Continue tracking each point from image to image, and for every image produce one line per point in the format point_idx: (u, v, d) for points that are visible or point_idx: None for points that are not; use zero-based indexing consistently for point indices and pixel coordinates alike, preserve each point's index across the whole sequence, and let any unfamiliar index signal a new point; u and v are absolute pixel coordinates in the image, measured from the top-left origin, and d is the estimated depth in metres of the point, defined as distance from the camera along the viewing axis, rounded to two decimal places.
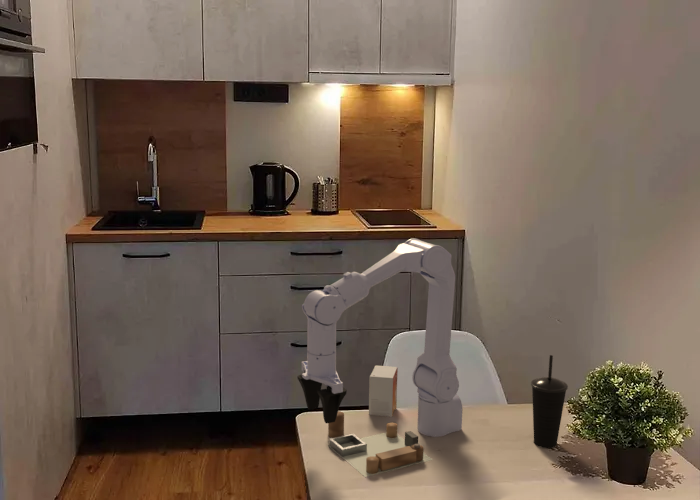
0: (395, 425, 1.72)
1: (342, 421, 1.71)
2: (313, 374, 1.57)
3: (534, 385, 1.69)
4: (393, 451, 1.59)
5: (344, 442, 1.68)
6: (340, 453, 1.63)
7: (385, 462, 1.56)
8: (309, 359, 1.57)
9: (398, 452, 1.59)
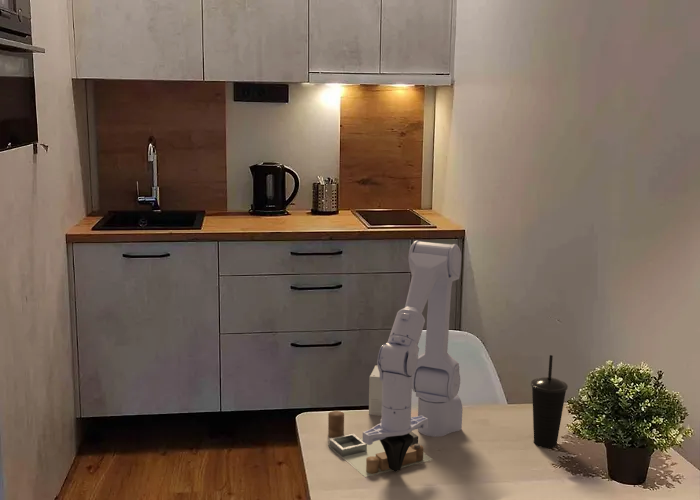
0: None
1: (342, 421, 1.71)
2: None
3: (534, 385, 1.69)
4: None
5: (344, 442, 1.68)
6: (340, 453, 1.63)
7: (385, 462, 1.56)
8: None
9: None
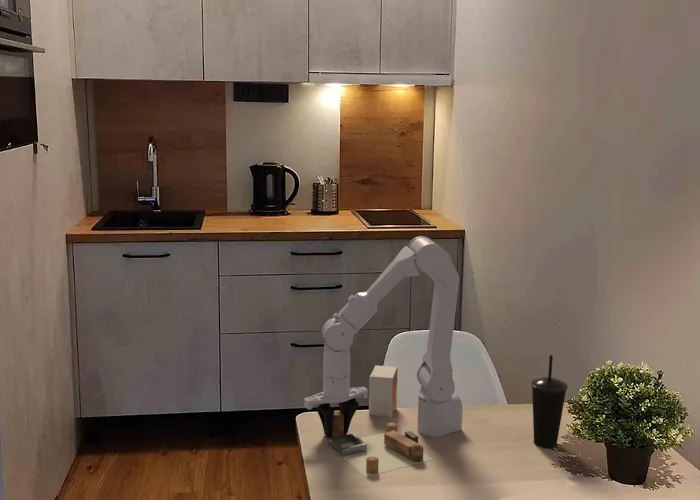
0: (395, 425, 1.72)
1: (342, 421, 1.71)
2: None
3: (534, 385, 1.69)
4: (402, 437, 1.66)
5: (344, 442, 1.68)
6: (340, 453, 1.63)
7: (386, 437, 1.67)
8: None
9: (401, 439, 1.65)
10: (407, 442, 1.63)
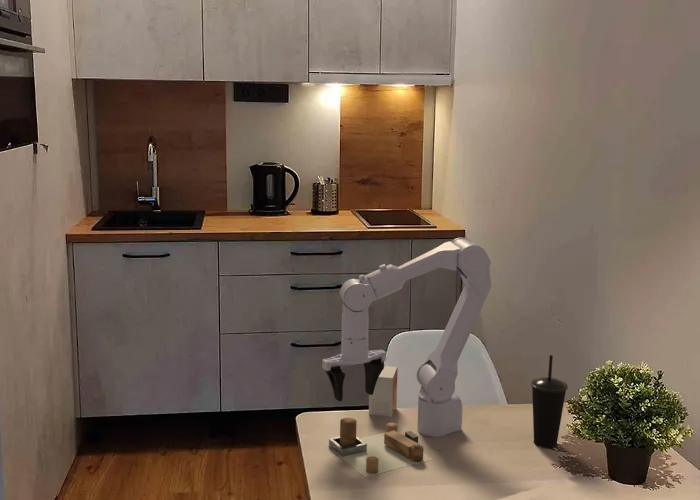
0: (395, 425, 1.72)
1: (354, 428, 1.65)
2: None
3: (534, 385, 1.69)
4: (402, 437, 1.66)
5: None
6: (340, 453, 1.63)
7: (386, 437, 1.67)
8: None
9: (401, 439, 1.65)
10: (407, 442, 1.63)
